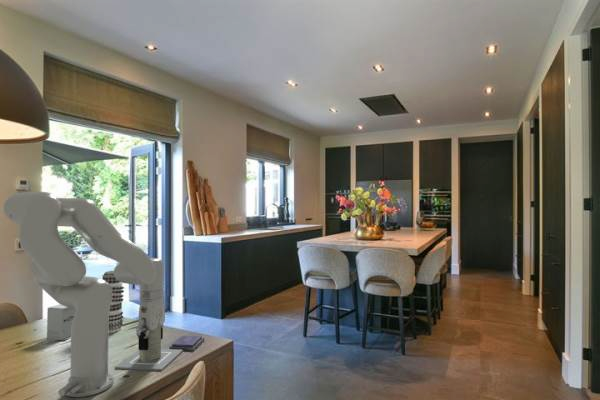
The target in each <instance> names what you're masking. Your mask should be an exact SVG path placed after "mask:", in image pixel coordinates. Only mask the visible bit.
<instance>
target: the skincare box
mask: <svg viewBox="0 0 600 400" xmlns="http://www.w3.org/2000/svg"><path fill="white" fill-rule="evenodd" d="M142 328H147V326H143V327H142ZM143 332H144V334H145V333H146V331H143ZM147 338H149V347H148V350H139V349H138V350H139V358H140V360H141V361H142V362H146V361H150V360H153V359H157V358H161V349H162V340H161V322H159V323H158V327H157V328H156V329H155V330H153V331H149V334H148V336H147Z"/></svg>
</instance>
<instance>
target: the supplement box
mask: <svg viewBox="0 0 600 400" xmlns="http://www.w3.org/2000/svg"><path fill="white" fill-rule="evenodd" d="M75 313H76V309H74V308H70V307H66V306H63V305H61V304H59V303H58V304H56V305H52V306H48V307H47V313H46V314H47V317H46V318H47V320H46V322H47V323H46V339H47V340H55V341H63V340H65V339H67V338H69V337H70V338H71V325H72V321H73V318H74V316H75Z"/></svg>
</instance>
